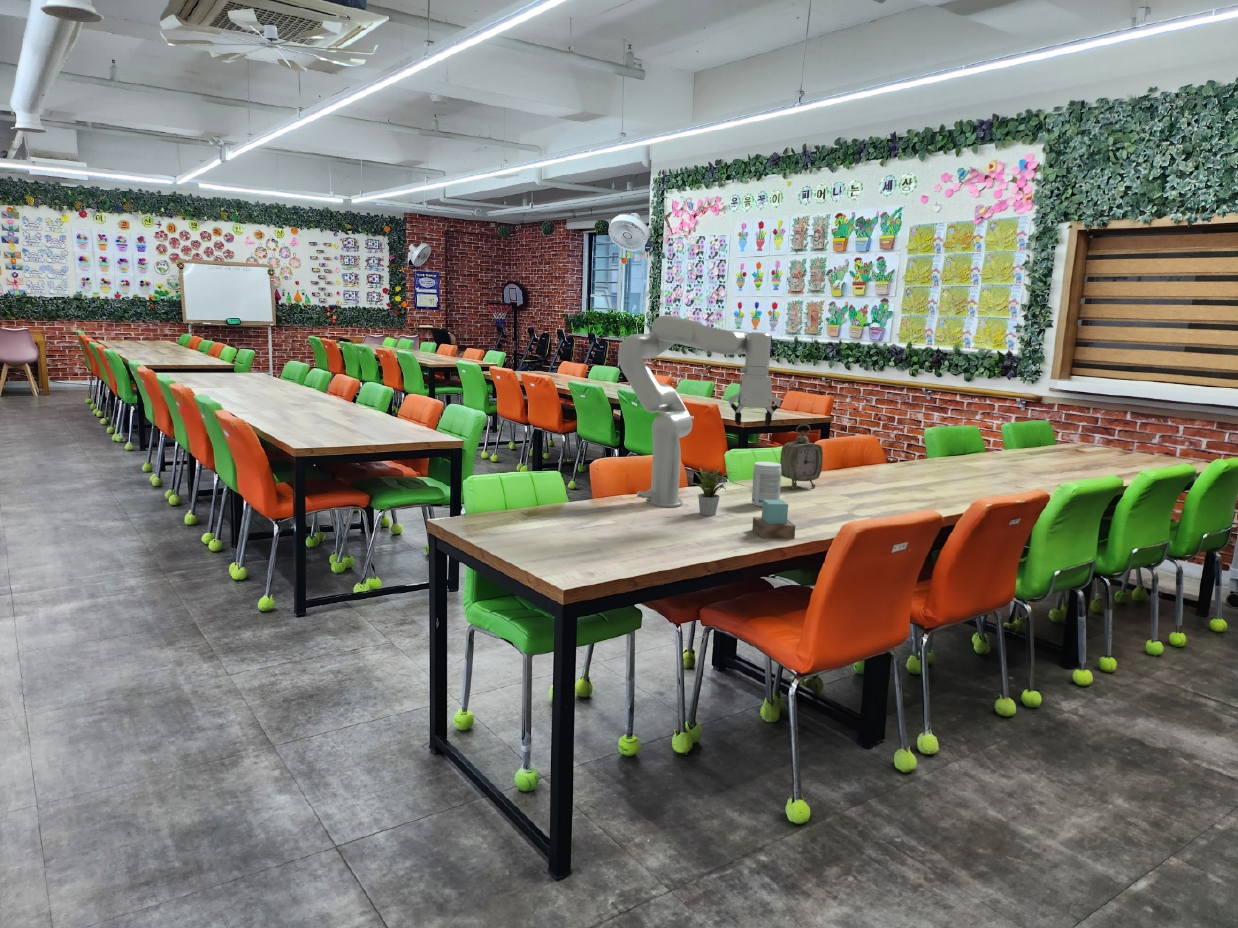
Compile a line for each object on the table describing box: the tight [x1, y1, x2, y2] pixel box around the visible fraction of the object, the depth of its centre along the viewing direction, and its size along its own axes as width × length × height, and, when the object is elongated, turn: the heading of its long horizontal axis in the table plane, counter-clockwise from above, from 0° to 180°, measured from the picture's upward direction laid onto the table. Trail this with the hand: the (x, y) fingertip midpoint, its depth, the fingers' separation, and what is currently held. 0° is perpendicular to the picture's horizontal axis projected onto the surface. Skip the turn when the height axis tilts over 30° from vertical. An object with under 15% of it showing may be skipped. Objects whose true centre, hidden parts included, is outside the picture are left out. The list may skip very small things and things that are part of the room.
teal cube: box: [761, 499, 789, 524], centre depth 255 cm, size 6×6×6 cm
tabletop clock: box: [779, 423, 824, 490], centre depth 328 cm, size 14×9×25 cm, turn 119°
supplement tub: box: [751, 461, 782, 508], centre depth 295 cm, size 10×10×15 cm
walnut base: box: [751, 516, 796, 539], centre depth 256 cm, size 10×10×4 cm
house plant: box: [690, 466, 733, 517], centre depth 276 cm, size 14×14×16 cm
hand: (752, 425), depth 272 cm, fingers open, 9 cm apart
